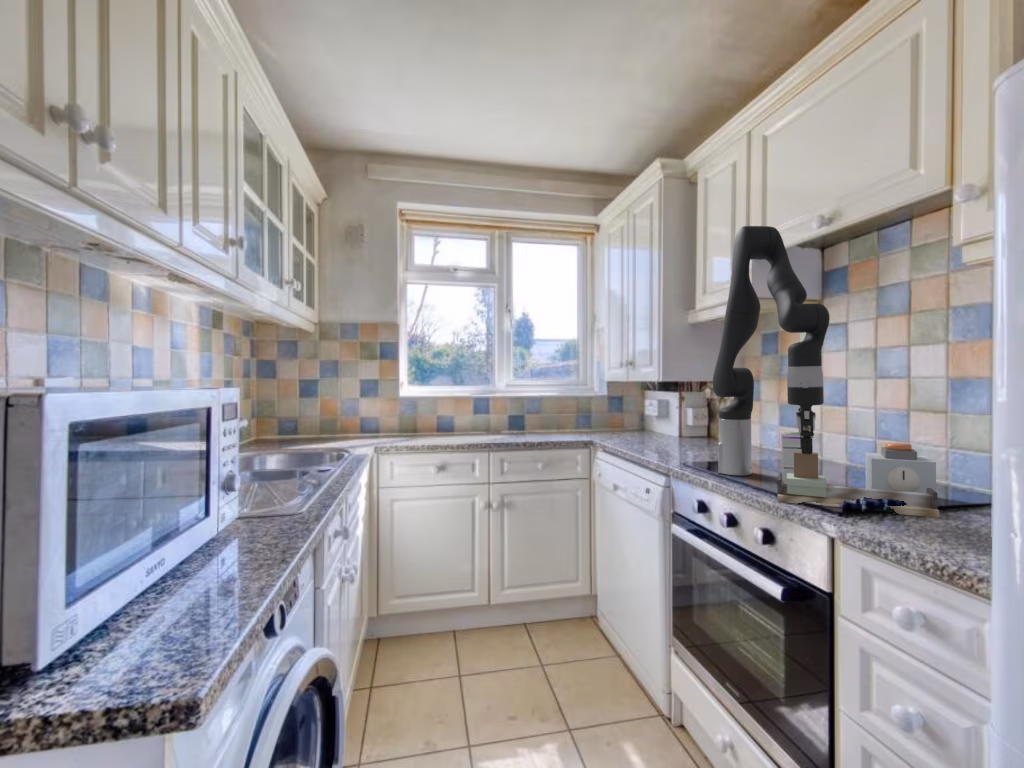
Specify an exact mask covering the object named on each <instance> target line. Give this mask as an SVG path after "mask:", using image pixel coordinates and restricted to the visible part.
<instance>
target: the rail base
mask: <svg viewBox="0 0 1024 768" xmlns="http://www.w3.org/2000/svg"><path fill="white" fill-rule="evenodd" d="M826 486H827V488H826V497H816V496H806V495H795V494H787V482H782V475H781V476H779V475H778V476H777V502H778V503H779V502H780V503H789V504H796V505H798V503H802V502H816V503H825V504H842V503H843V502H844V500H852V501H854V500H857V499H861V498H864V497H866V498H872V499H894V500H899V501H904V502H905V503H907V504H908V505H904V506H902V505H901V506H888V507H890V508H891V509H894V511H895V512H896V513H898V515H906V516H918V517H926V518H935V519H936V518H937V519H939V518H940V517H941V516H940V514H941V513H940V510H939V509H938V492H937V491H936V492H935V491H934V490H933V489H932V488H927V493H915V492H903V491H891V490H878V489H866V487H854V486H839V485H830V484H829V485H828V484H826Z"/></svg>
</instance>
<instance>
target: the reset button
mask: <svg viewBox="0 0 1024 768" xmlns="http://www.w3.org/2000/svg"><path fill="white" fill-rule="evenodd" d="M885 447H886V449H890V450H902V451H909V450H912V449H913V445H912V444H910V443H903V442H885Z"/></svg>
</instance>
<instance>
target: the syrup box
mask: <svg viewBox="0 0 1024 768" xmlns="http://www.w3.org/2000/svg"><path fill="white" fill-rule="evenodd" d="M780 438H781V441H780V442H781V445H780V446H781V471H782V472H781V474H782V475H781V478H782V482H787V473H794V451H798V452H802V449H801V447H800V432H799V431H798V432H795V431H793V432H792V431H788V432H787V431H785V432H784V433H782V434H781V437H780Z"/></svg>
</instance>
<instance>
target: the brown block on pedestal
mask: <svg viewBox="0 0 1024 768" xmlns="http://www.w3.org/2000/svg"><path fill="white" fill-rule="evenodd" d="M826 485H827V479H826V477H825V475H820V474H819V453H818V452H813V453H812V454H803V453H802V452H798V451H794V473H787V494H795V495H806V496H816V497H826V488H827V486H826Z"/></svg>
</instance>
